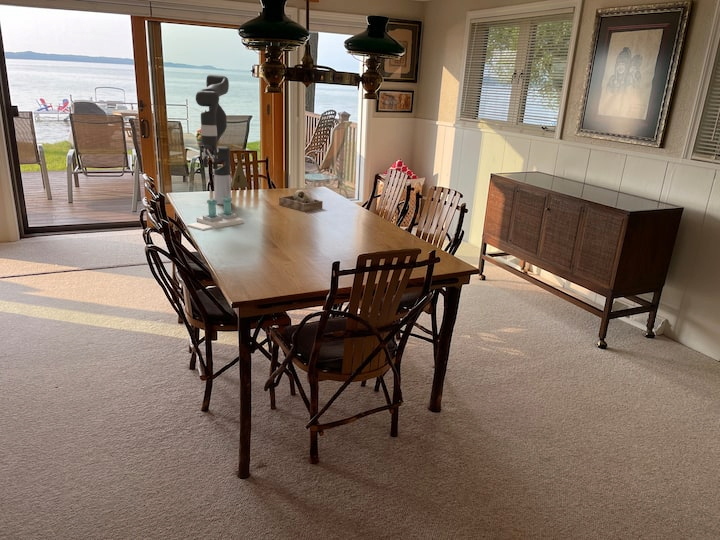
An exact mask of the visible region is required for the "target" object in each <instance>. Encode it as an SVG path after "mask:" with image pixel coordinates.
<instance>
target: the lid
mask: <svg viewBox="0 0 720 540" xmlns="http://www.w3.org/2000/svg"><path fill="white" fill-rule="evenodd" d="M186 226H187V227H189V228H193V229H196V230H200V231H206V230H212V229H214V227H212V226H208V225H206V224H203V223H200V222H197V221H196V222H192V223H187V224H186Z"/></svg>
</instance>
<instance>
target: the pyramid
mask: <svg viewBox="0 0 720 540" xmlns="http://www.w3.org/2000/svg"><path fill="white" fill-rule="evenodd" d="M235 168H236V169H235V172H234V173H233V174H234V175H233V176H232V179H231V188H238V189H245V188H246V189H247V188H249V187H250V185H249V183H248V180H247V178H246V175H245V172H244V170H243V166H242V164H241V162H240V160H238V162H237V166H236V167H235Z"/></svg>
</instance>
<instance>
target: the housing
mask: <svg viewBox="0 0 720 540" xmlns="http://www.w3.org/2000/svg"><path fill="white" fill-rule="evenodd" d="M197 221H198V222H197ZM196 222H197V223H201V224H205V225H208V226H212V227H213V229H214V228H215V229H217V228H219V229H220V228H224V227H229V226H234V225H236V226H237V225H240V224H244V223H245V221H244V218H242V217H238V214H237V213H235V212H232V211H231V215H224V212H218V213H216V217H213V218H210V217H209V214H206V215H202V216H197V217H196Z"/></svg>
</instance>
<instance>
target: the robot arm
mask: <svg viewBox="0 0 720 540" xmlns="http://www.w3.org/2000/svg"><path fill="white" fill-rule="evenodd" d="M205 80H206V83H205V84H206V87H205V88H203V89H200V90H198V91H197V92H196V94H195V102H196V104H197V105H198V106H200V107H208V110H207V111H202V112H201V113H200V139H201V141H200V142H201V143H200V144H201V145H199V157H200V158H201V159H202V164H203V165H202V166H203V168H208V167H209V160H208V158H210V159H211V161H212V169H213V175H214V176H213V177H214V187H213V191H214V192H213V193H214V196H213V197H214V199H215V200H217V203H216V205H222V206H224V201H222V198H224V197H230V198H232V187H231V182H232V179H231V177H232V176H231V148H230V147H229V146H219V145H218V142H219V141H220V138H221V137H222V136H223V134H224V133H225V131H226V130H227V127H228V125H227V114H226V111H224V109H223V108H222V106H221V104H220V103H219V102H220V97H221V96H223V95H227V93H228V91H229V89H230V88H229V87H230V82H229V79H228V77H227V76H225V75H219V74H208V75H207V77H206V79H205ZM217 145H218V146H217ZM218 163H224V164H223V165H222V166H218V165H219V164H218Z"/></svg>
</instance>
